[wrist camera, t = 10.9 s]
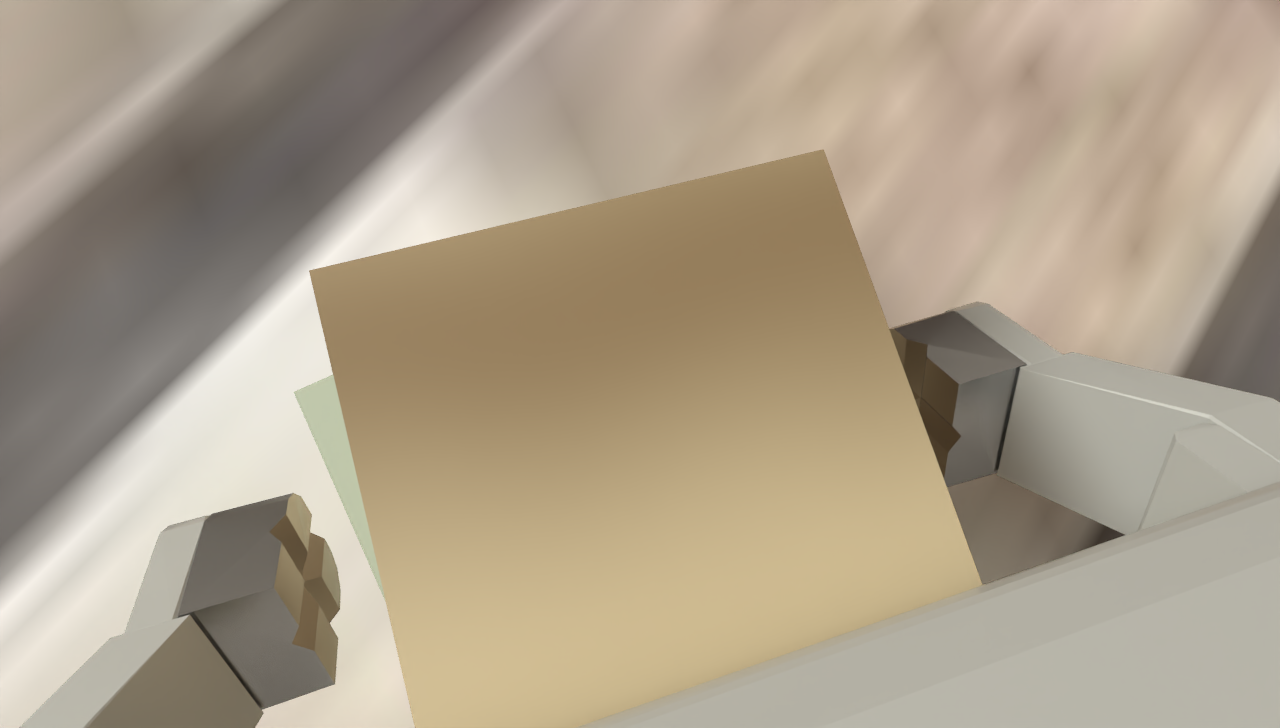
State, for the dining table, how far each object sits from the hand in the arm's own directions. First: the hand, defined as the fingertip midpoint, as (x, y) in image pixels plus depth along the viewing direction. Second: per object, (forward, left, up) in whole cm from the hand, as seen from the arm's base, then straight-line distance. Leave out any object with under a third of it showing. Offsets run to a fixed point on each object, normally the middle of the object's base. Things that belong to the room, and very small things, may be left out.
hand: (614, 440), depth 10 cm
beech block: (-1, 0, -6) cm, 6 cm away
